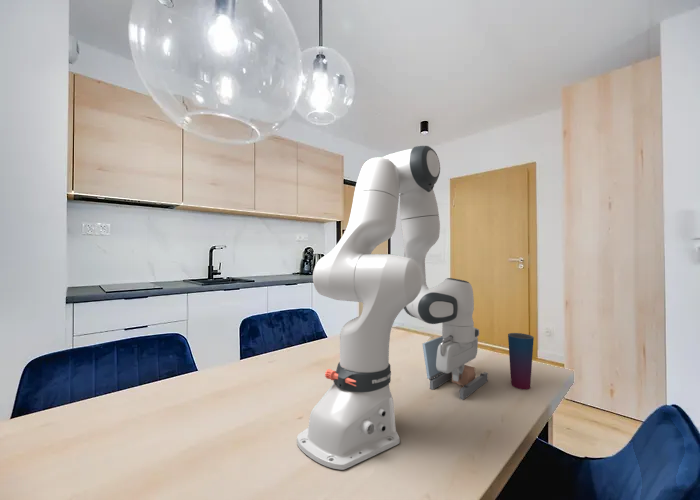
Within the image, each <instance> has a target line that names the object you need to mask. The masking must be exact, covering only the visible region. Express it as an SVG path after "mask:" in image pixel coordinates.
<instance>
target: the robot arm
mask: <svg viewBox="0 0 700 500" xmlns="http://www.w3.org/2000/svg"><path fill="white" fill-rule="evenodd" d="M440 163H441V162H440V159H439V156H438V154H437V153H436V151H435V149H433V148H432V147H431V146H429V145H419V146H418V145H417V146H414V147H413V148H408V149H404V150H400V151H396V152H395V151H394V152H392V153H389V154H387V155H385V156H384V155H383V156H382V157H380V156H378V157H377V156H376V157H371V158H370V159H368V160H367V161H365V162H364V164H363V165H362V167H361V169H360V171H359V175H358V177H357V181H356V184H355V188H354V192H353V197H352V205H351V210H350V215H349V219H348V222H347V226H346V227H345V228H346V229H345V231H344V232H343V234H342V236H341V238H340V239H339V241H338V242H337V244H336V245H335V246H334V247H333V248H332V249H331V250H330V251H329V252H328V253H326V254H325V255H324V256H322V257H320V259H318V260H317V262H316V263H315V265H314V268H313V271H312V283H313V286H314V288H315V290H316V292H317V293H318V294H319V295H321V296H323V297H326V298H330V299H332V300H336V301H341V302H342V301H343V302H355V303H362V310H361V314H360V315H359V316H356V317H355V318H352V319H350V320H348V322H346V323H345V324H344V325H343V326H342V328H341V330H340V333H339V362H338V363H337V366H336V368H335V369H336V370H333V369H331V368H327V369H326V371H325V374H324V377H325V379H328V380H330V381H333V383H332V385H331V386H330V387H329V388H328V390H327V391H326V392H325V393H324V394H323V396H322V397H321V398H320V400H319V401H318V402H317V403H316V404H315V406H314V407H313V408H312V409H311V412H310V414H309V418H308V419H309V421H308V427H306V428H305V429H304V430H302V431H301V432H299V433H298V434H297V435H296V436H297V437H296V443H297V446H298V448H299V450H301V452H303V453H304V454H305V455H306V456H307V457H308V458H310V459H311V460H313V461H315V462H316V463H318V464H320V465H322V466H325V467H327V468H330V469H334V470H342V471H343V470H346V469H349V468H351V467H353V466H355V465H357V464H359V463H362V462H363V461H366V460H367V459H370V458H372V457H374V456H376V455H378V454H380V453H382V452H385V451H387V450H389V449H391V448H393V447H395V446H397V445H398V444H400V442H401V441H400V440H401V439H400V436H399V434H398V431H397V428H396V426H397V425H396V417H395V405H394V399H393V396H392V392H391V389H390V383H391V381H392V379H391V376H392V370H391V369H392V368H391V363H390V362H389V359H390V357H389V355H390V340H391V332H392V328H393V325H394V322H395V320H396V318H397V317H398V315H399V314H400V312H401V311H403V310H404V311H405V313H406V314H407V315H409V316H410V317H411V318H412V317H413V318H416V319H417V320H420V321H422V322H423V323H424V322H425V323H426V324H429V325H438V324H441V325H442V328H441V329H442V333H441V336H442V337H443V340H442V343H440V344H439V346H438V350H437V359H436V368H437V370H438V371H440V372H443V373H450V372H452V374H453V380H454V381H457V382H458V381H459V380H461V379H462V373H463V370H464V367H465V365H467V363H469V362H470V361H472V360H474V359H476V357H477V355H478V349H479V348H478V347H479V346H478V345H479V344H478V343H479V341H478V340H479V338H478V337H479V336H480V329H479V328H476V327H475V325H474V324H475V323H474V319H473V314H474V309H475V307H474V305H475V300H474V299H475V298H474V290H473V286H472V284H471V283H470V282H469V281H468V280H462V279H458V278H452V277H447V278H445V279H444V280H443V281H442V282H441V283H439V284H438V285H436V286H434V287H433V286H432V287H431V288H429V287H428V285H427V277H426V275H427V274H426V258H427V254H428V252H429V250H431V248H432V247H434V246H435V244H436V243H437V242H438V241H439V237H440V232H441V221H440V214H439V208H438V202H437V198H436V195H435V190H434V188H435V184H436V183H437V181H438V179H439V177H440V174H441V164H440ZM398 207H399V208H398ZM398 210H399V214H400V216H399V217H400V218H399V219H400V225H401V232H402V239H403V250H404V253H403V254H404V256H402V255H398V254H391V253H390V254H389V253H388V254H386V253H385V254H384V253H381V254H380V253H372V252H373V251H374V250H375V249H376V248H377V247H378V246H380V245H381V244H382V243H385V242H386V241H388V240H389V239H390V238H392V236H393V234H394V233H395V231H396V228H397V227H396V226H397V218H398V216H397V215H398Z"/></svg>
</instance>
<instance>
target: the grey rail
mask: <svg viewBox="0 0 700 500" xmlns="http://www.w3.org/2000/svg"><path fill="white" fill-rule="evenodd" d="M488 376H489V373H488V371H487V372H486V371H484V372H481V373H480V375H478V376H477V377H475V379H474V380H472V381H471V382H470V383H468V384H467V385H464V386H463V387H461V388H460V389H459V400H462V401H463V400H465V399H466V398H468V397H469V396H470V395H471V394H473V393H475V391H476V390H478V389H479V388H480V387H482V386H483V385H484V384H486V383H487V382H488V379H489V377H488ZM449 380H452V372H450V373H442V374H440V375H438V376H436V377H434V378H433V379H431V380H429V390H432V391H433V390H435V389H438V387H440V386H441V385H443V384H445V383H446V382H448V381H449Z"/></svg>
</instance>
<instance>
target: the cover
mask: <svg viewBox="0 0 700 500" xmlns="http://www.w3.org/2000/svg"><path fill="white" fill-rule="evenodd" d="M437 337H438V338H436V339H433V340H430V341H428V342H427V341H425V342H424V343H422V351H423V357H424V365H425V371H426V372H425V373H426V378H427V379H428V380H429V381H430V380H431V379H433V378H435V377H436V376H438V375H440V374H442V373H443V372H440V371H438V370H437V368H436V359H437V350H438V346H439V344H440V343H442V340H443V337H442V335H441V336H437Z"/></svg>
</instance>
